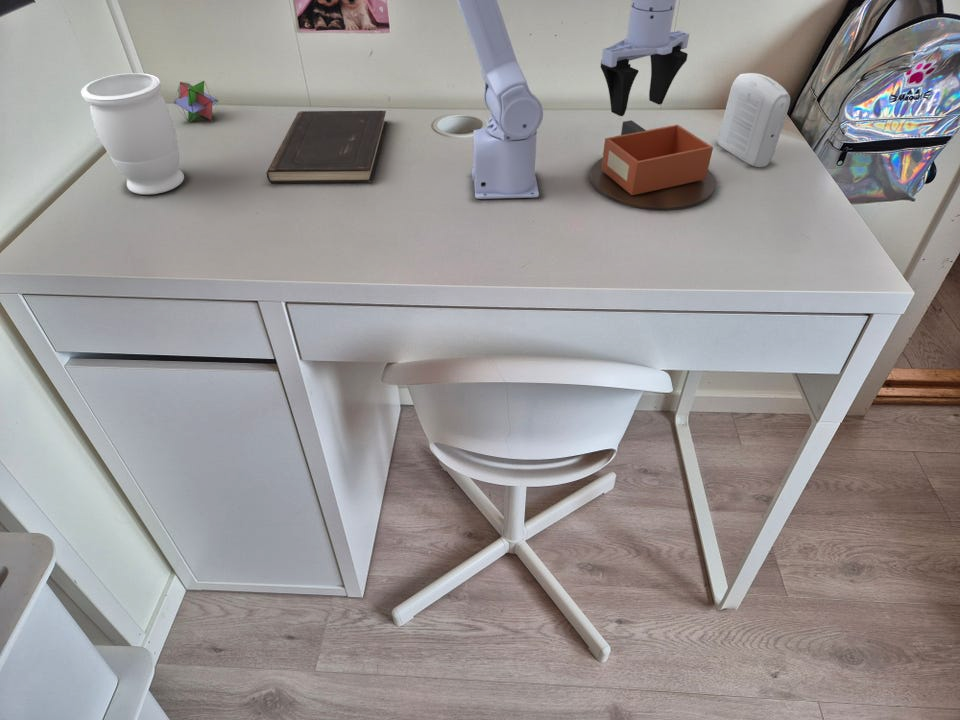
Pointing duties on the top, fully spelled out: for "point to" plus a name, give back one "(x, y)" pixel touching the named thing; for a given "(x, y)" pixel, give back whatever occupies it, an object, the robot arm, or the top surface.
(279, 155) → the hardcover book
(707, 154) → the bin
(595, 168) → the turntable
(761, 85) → the photo printer
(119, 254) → the top surface
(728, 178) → the top surface
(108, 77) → the jar
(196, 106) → the geometric puzzle
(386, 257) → the top surface
